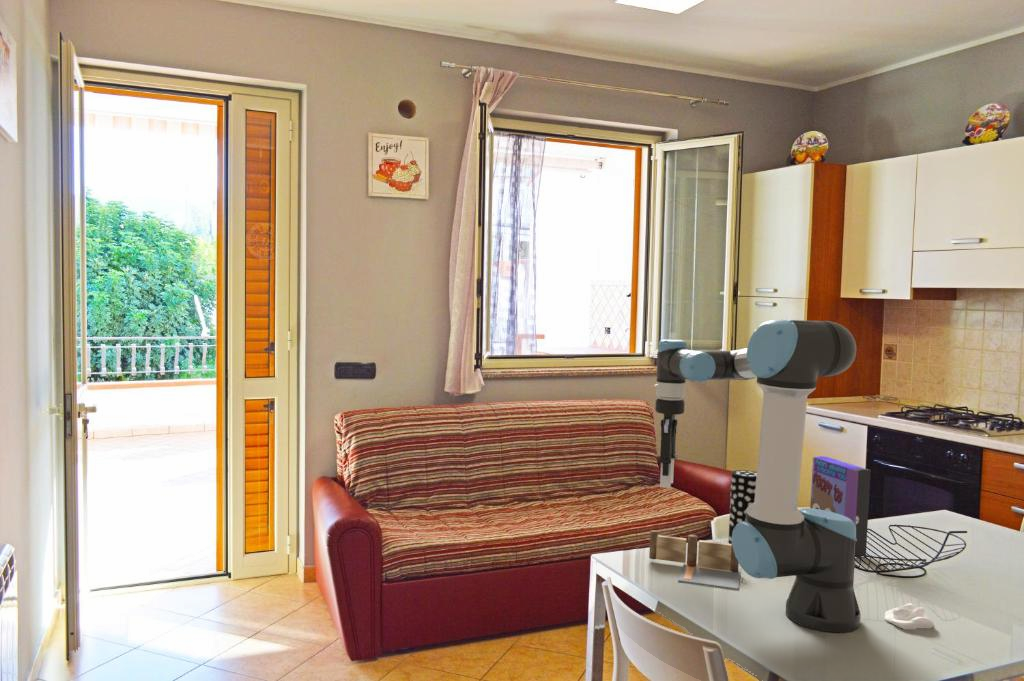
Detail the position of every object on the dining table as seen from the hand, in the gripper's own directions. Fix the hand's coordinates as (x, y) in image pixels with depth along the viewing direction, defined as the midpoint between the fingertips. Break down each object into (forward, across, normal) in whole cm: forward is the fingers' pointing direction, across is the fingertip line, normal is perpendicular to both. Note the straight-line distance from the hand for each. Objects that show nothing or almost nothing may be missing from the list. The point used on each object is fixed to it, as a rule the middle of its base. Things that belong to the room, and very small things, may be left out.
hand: (666, 484), depth 211 cm
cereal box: (+19, -25, +45) cm, 55 cm away
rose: (+19, +25, +56) cm, 64 cm away
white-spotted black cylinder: (+19, -18, +20) cm, 33 cm away
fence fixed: (+19, +7, +13) cm, 24 cm away
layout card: (+19, +12, +13) cm, 26 cm away
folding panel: (+18, +7, +2) cm, 19 cm away
